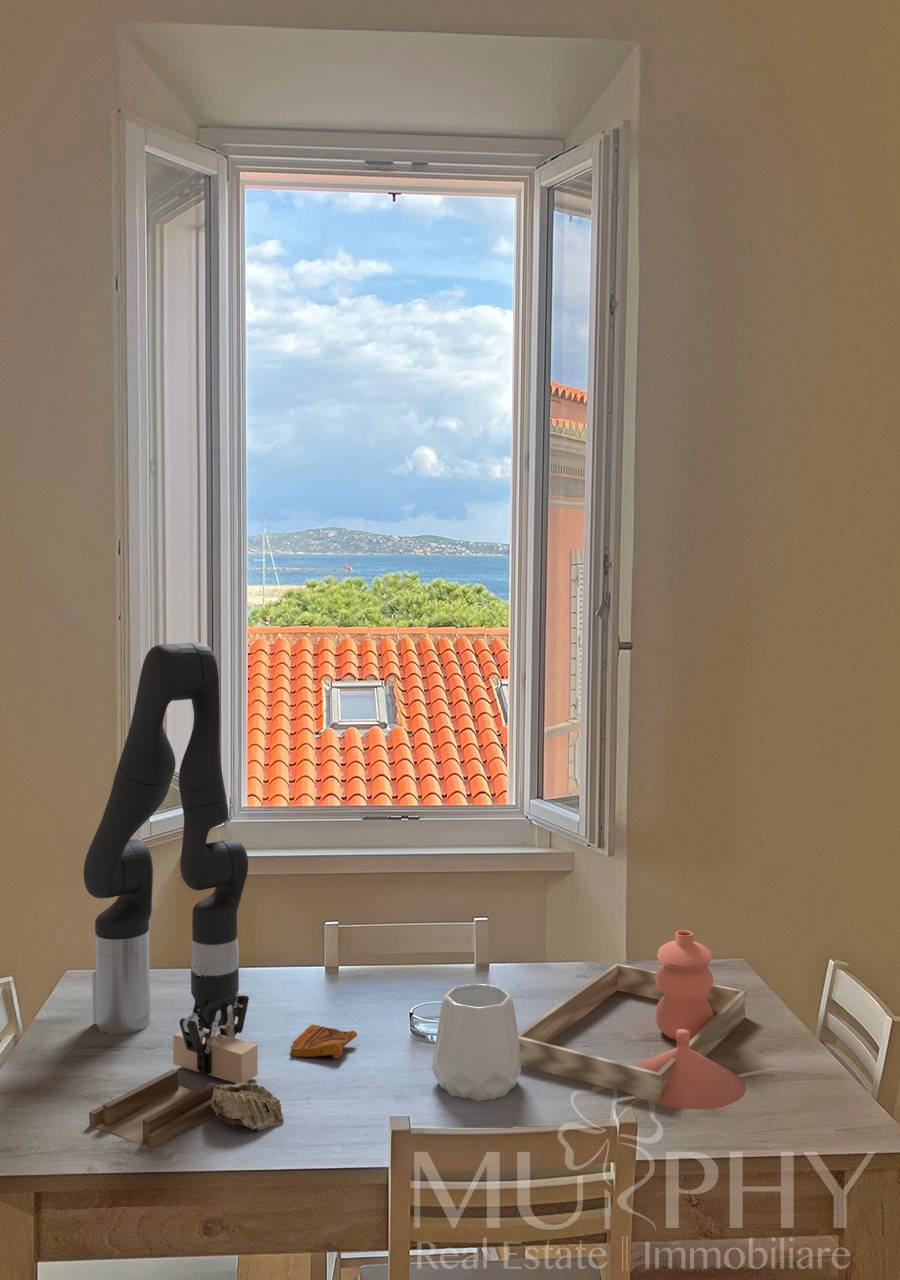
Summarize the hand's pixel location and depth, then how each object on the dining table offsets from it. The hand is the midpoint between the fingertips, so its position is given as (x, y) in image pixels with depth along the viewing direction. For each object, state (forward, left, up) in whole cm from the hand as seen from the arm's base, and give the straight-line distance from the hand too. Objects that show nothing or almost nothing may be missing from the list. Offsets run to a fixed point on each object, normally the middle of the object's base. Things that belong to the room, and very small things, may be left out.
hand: (215, 1067), depth 193 cm
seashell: (+18, -13, 0) cm, 22 cm away
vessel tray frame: (+51, +50, -2) cm, 72 cm away
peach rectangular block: (0, 0, 0) cm, 0 cm away
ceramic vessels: (+62, +45, -2) cm, 77 cm away
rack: (+3, -15, -2) cm, 15 cm away
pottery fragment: (+13, +19, -1) cm, 23 cm away
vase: (+37, +20, -2) cm, 42 cm away
